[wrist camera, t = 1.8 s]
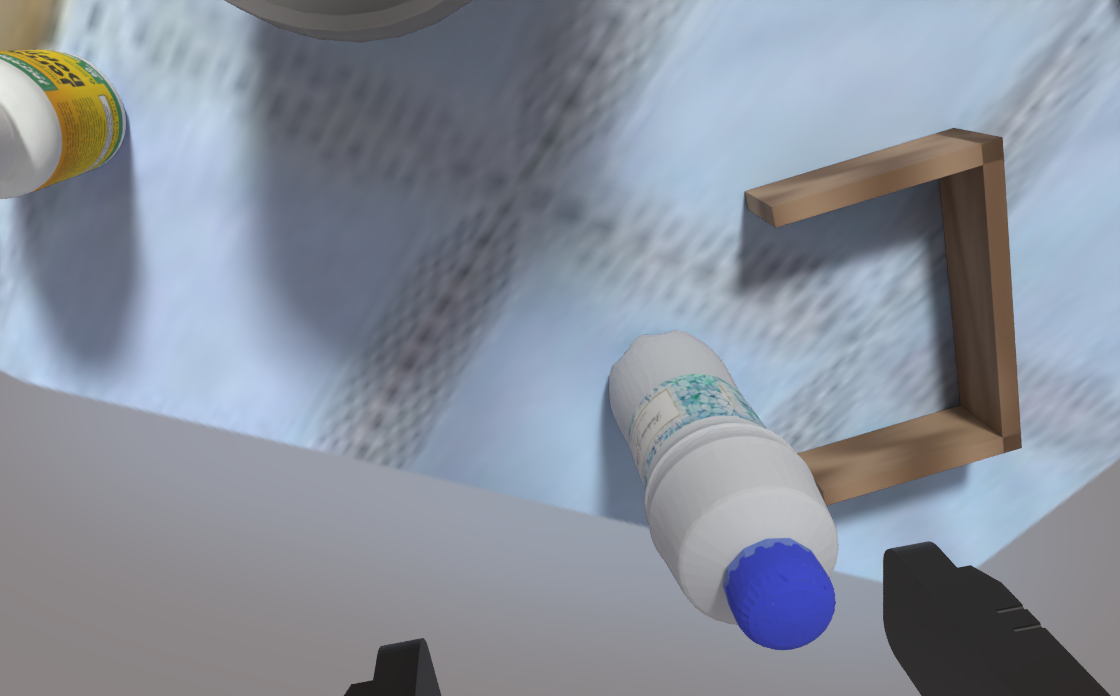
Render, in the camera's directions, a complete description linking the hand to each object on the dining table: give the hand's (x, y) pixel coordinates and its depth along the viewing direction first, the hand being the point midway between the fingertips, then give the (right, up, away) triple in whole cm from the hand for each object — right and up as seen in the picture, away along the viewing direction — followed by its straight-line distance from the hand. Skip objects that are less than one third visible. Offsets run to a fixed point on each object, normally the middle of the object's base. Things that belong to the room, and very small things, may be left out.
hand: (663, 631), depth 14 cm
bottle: (+4, +4, +30) cm, 30 cm away
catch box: (+15, +7, +30) cm, 34 cm away
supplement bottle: (-24, +16, +22) cm, 36 cm away
